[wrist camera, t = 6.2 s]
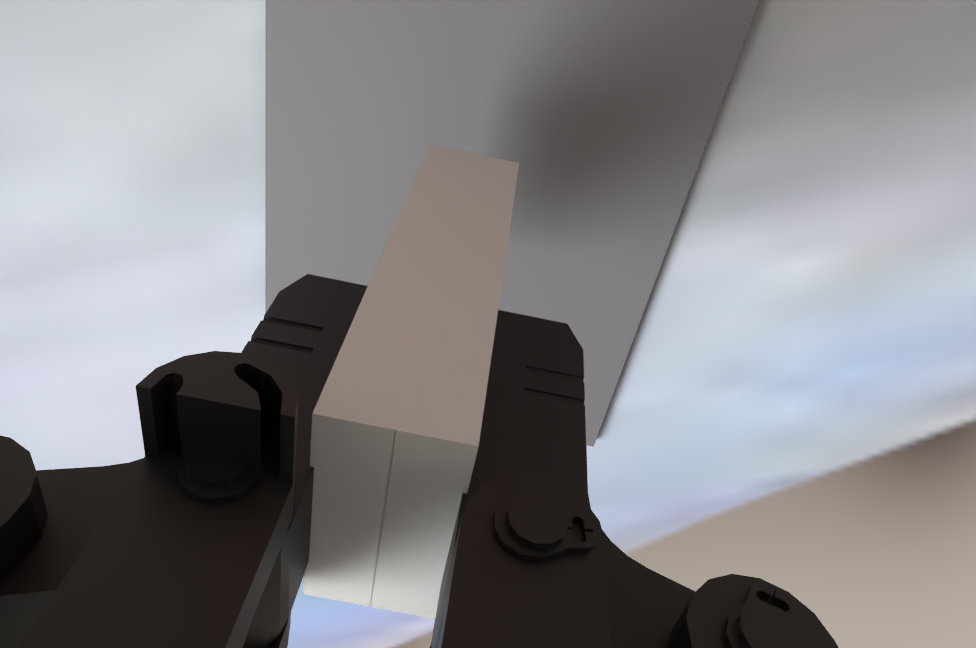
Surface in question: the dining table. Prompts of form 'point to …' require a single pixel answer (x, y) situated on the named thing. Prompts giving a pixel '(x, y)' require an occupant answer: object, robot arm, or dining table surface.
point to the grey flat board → (499, 140)
